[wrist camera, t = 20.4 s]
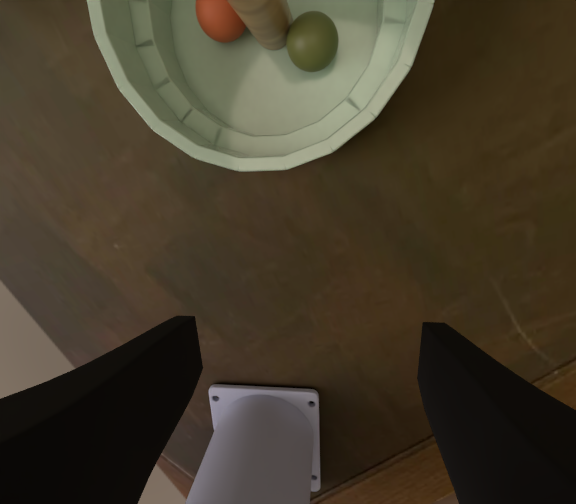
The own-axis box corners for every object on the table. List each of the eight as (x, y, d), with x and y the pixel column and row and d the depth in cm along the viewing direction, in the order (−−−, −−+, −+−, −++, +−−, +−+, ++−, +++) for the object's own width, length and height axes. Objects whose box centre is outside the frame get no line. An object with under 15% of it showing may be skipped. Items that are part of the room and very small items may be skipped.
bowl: (398, 158, 18) (422, 165, 13) (170, 167, 20) (120, 176, 15) (417, -165, 14) (460, -319, 9) (127, -119, 16) (41, -228, 11)
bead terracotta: (243, 55, 17) (202, 33, 17) (262, 3, 16) (219, -20, 16) (225, 46, 15) (178, 21, 15) (245, -15, 14) (196, -42, 14)
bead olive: (297, 88, 16) (332, 51, 14) (267, 43, 15) (299, -2, 14) (322, 77, 17) (357, 42, 15) (295, 35, 17) (327, -6, 15)
